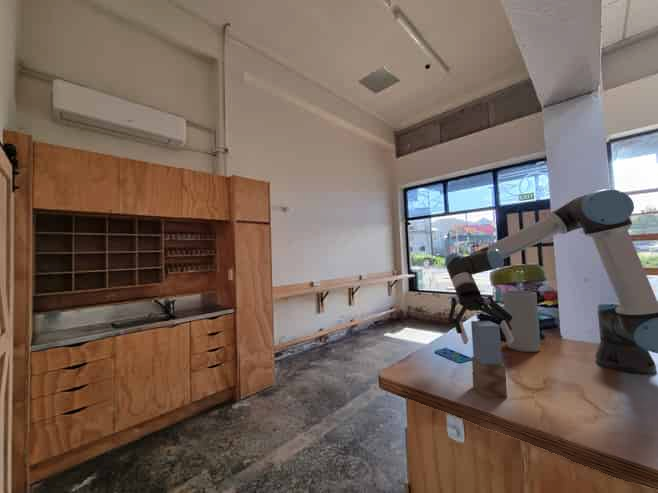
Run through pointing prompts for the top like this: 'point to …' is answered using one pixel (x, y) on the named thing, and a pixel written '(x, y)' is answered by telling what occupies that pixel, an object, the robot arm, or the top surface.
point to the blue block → (486, 342)
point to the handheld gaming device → (453, 355)
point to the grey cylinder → (523, 320)
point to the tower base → (490, 388)
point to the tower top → (489, 372)
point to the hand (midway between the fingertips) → (488, 341)
